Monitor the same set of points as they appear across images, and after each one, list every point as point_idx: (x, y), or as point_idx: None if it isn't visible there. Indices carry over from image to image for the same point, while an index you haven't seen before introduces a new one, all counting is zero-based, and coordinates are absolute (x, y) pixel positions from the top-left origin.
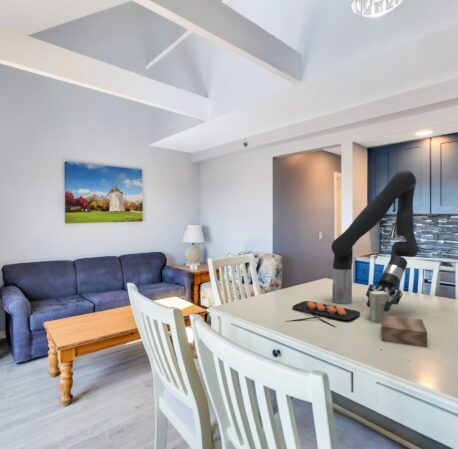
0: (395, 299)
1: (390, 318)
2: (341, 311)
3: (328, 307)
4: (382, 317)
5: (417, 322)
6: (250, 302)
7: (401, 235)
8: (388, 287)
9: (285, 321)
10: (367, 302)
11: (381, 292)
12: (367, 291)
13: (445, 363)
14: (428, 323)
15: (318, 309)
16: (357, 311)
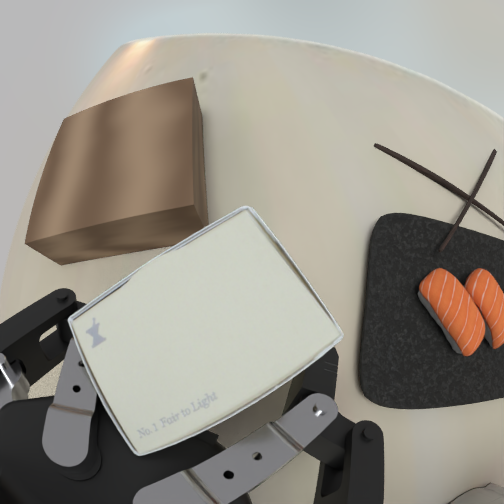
0: (48, 298)
1: (147, 170)
2: (445, 277)
3: (502, 291)
4: (187, 163)
5: (51, 187)
6: None
7: None
8: (46, 480)
9: (494, 149)
10: (331, 359)
11: (143, 351)
12: (379, 472)
13: (85, 100)
14: (38, 395)
15: None
16: (382, 399)
